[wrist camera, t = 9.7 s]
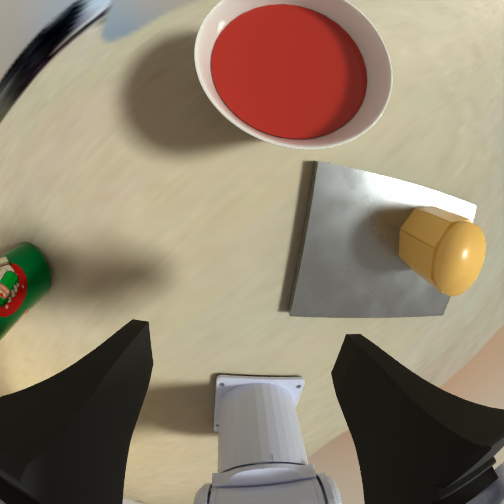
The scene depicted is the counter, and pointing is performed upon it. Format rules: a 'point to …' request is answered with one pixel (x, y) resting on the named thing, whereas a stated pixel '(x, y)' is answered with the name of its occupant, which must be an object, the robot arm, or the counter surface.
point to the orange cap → (442, 248)
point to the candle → (294, 70)
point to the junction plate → (363, 247)
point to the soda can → (21, 283)
